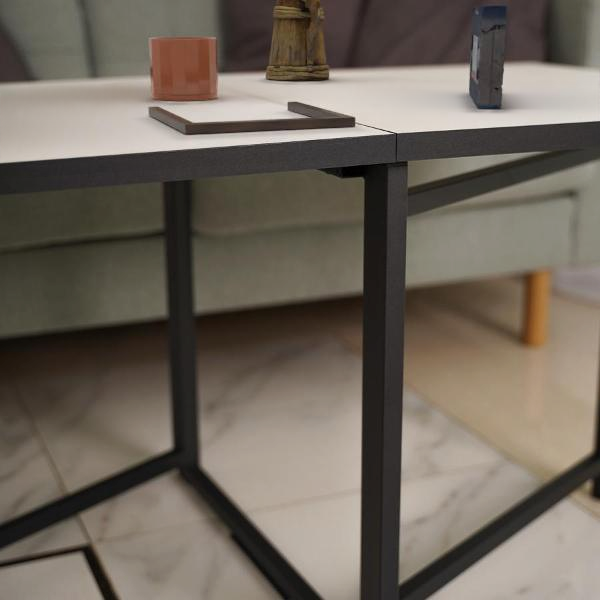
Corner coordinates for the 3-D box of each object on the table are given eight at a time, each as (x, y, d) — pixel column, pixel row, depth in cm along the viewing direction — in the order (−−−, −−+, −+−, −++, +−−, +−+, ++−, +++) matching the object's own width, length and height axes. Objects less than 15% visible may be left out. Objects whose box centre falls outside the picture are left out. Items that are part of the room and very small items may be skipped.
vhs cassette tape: (467, 92, 110) (472, 5, 107) (492, 93, 109) (498, 5, 106) (472, 108, 92) (477, 5, 89) (501, 109, 92) (508, 5, 89)
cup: (160, 101, 98) (157, 39, 96) (146, 95, 105) (143, 37, 103) (225, 99, 101) (224, 38, 99) (208, 93, 108) (206, 36, 106)
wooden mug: (291, 84, 121) (291, -62, 115) (257, 77, 133) (255, -55, 127) (352, 82, 124) (355, -60, 118) (313, 75, 136) (314, -54, 130)
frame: (185, 134, 73) (185, 124, 73) (148, 115, 86) (148, 106, 86) (355, 126, 78) (355, 117, 78) (296, 109, 91) (296, 101, 91)
